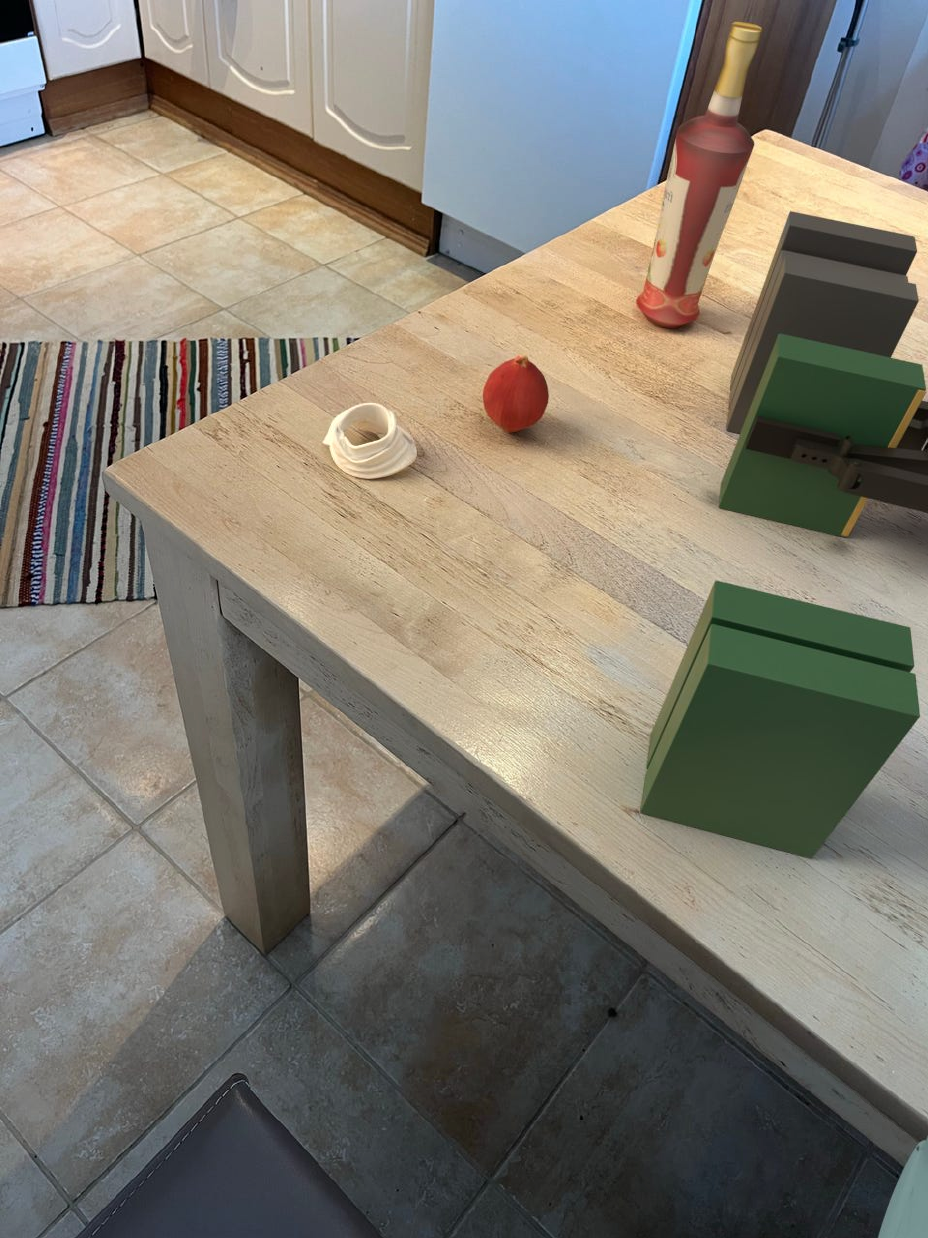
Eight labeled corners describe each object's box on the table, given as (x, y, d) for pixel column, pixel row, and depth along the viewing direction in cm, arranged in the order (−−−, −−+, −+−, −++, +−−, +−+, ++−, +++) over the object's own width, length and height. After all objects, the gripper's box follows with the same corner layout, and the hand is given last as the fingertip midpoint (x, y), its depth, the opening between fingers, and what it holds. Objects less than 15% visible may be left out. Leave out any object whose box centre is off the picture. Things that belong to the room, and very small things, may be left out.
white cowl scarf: (426, 459, 84) (436, 412, 80) (393, 496, 79) (402, 448, 76) (346, 425, 85) (352, 377, 82) (309, 460, 80) (314, 411, 77)
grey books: (842, 457, 89) (924, 289, 76) (725, 430, 90) (788, 260, 77) (839, 399, 96) (914, 235, 83) (731, 375, 97) (789, 210, 84)
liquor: (697, 341, 100) (790, 46, 80) (628, 327, 101) (704, 31, 80) (699, 307, 105) (787, 21, 85) (634, 294, 106) (706, 7, 85)
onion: (474, 410, 88) (485, 333, 82) (535, 411, 89) (549, 335, 83) (482, 449, 84) (493, 372, 78) (546, 450, 85) (561, 373, 79)
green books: (811, 859, 59) (920, 716, 48) (639, 813, 60) (707, 663, 49) (811, 775, 64) (910, 626, 53) (650, 733, 65) (715, 579, 54)
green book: (847, 538, 81) (928, 389, 70) (718, 508, 82) (778, 356, 71) (845, 512, 83) (923, 364, 72) (720, 483, 84) (778, 332, 73)
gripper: (1039, 588, 72) (732, 516, 74) (1006, 456, 83) (742, 397, 85) (1097, 514, 66) (764, 438, 68) (1053, 383, 78) (770, 321, 80)
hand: (752, 415), depth 77 cm, fingers open, 4 cm apart
